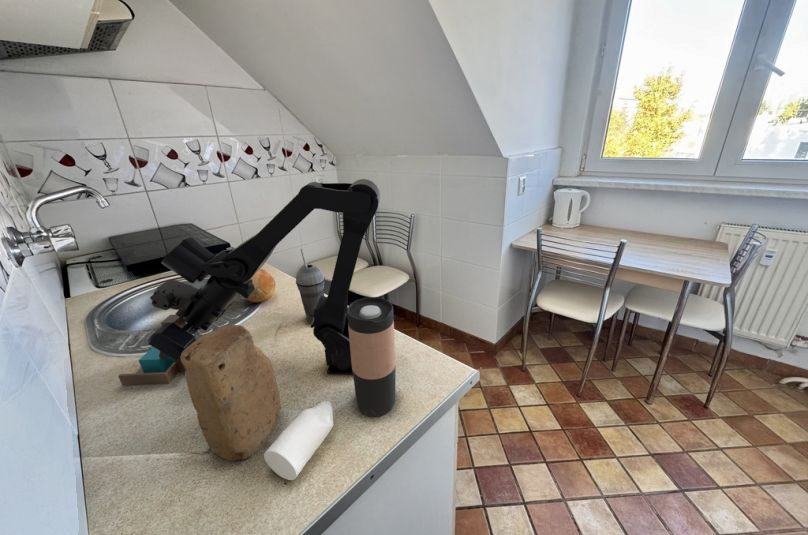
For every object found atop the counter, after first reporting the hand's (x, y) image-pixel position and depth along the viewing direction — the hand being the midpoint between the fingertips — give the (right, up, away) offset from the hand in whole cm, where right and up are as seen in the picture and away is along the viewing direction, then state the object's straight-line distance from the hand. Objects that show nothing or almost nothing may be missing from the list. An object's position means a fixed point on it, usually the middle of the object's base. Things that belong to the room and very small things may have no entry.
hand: (174, 345), depth 66 cm
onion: (+4, +6, +31) cm, 32 cm away
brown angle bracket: (-3, -6, +3) cm, 7 cm away
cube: (-4, -6, +2) cm, 7 cm away
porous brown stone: (+22, -12, -12) cm, 28 cm away
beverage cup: (+23, +2, +21) cm, 31 cm away
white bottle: (+32, -13, -14) cm, 37 cm away
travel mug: (+42, -9, -6) cm, 43 cm away
